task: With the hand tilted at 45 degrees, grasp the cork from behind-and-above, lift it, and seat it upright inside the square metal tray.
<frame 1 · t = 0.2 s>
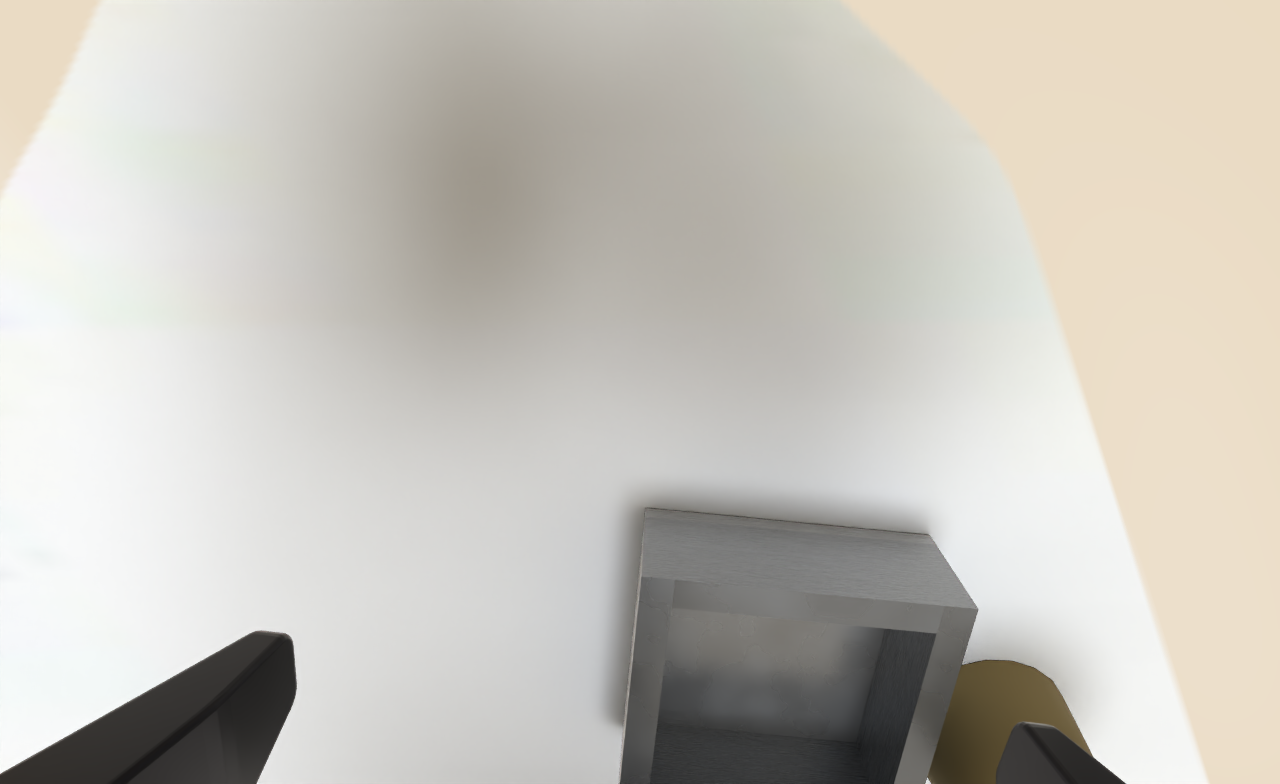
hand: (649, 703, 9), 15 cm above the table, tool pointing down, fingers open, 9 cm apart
square metal tray: (766, 637, 26), on the table
cork: (982, 718, 28), on the table
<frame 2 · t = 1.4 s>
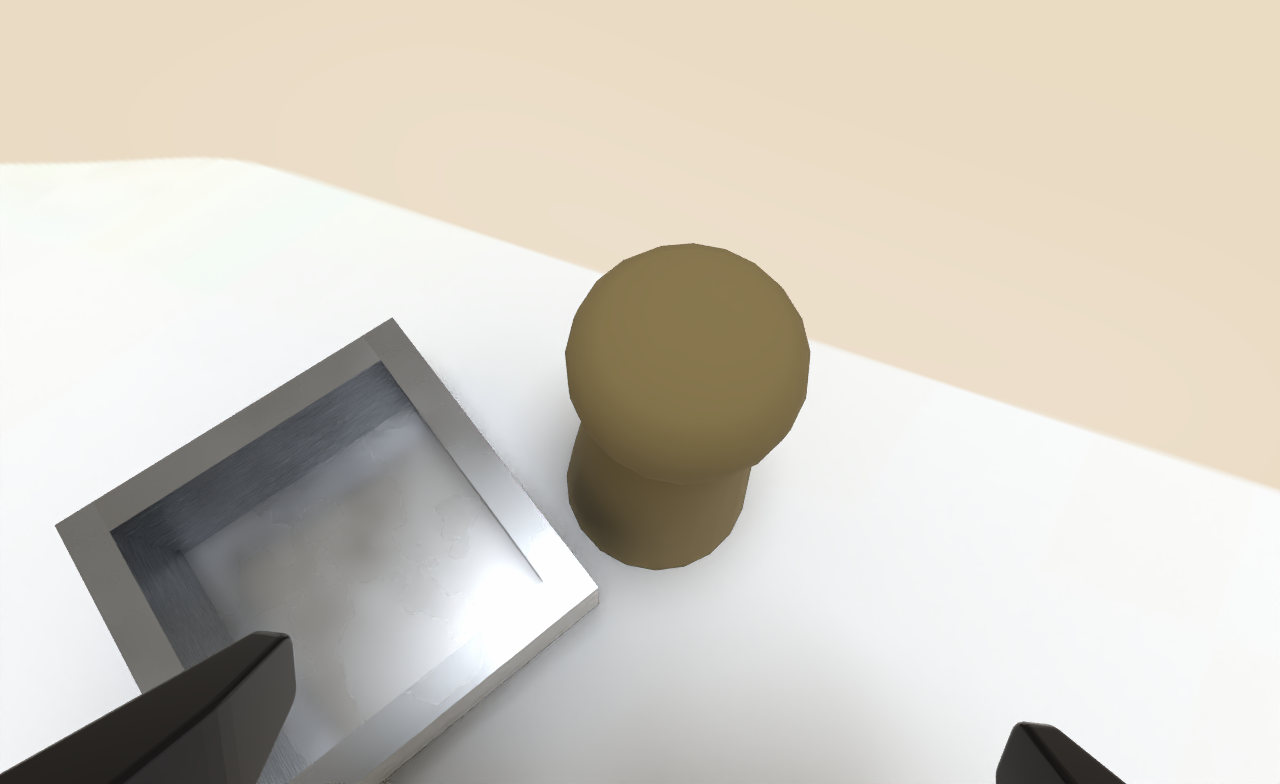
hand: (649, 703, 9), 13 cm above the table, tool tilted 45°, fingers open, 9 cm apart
square metal tray: (374, 578, 22), on the table
cork: (656, 480, 24), on the table
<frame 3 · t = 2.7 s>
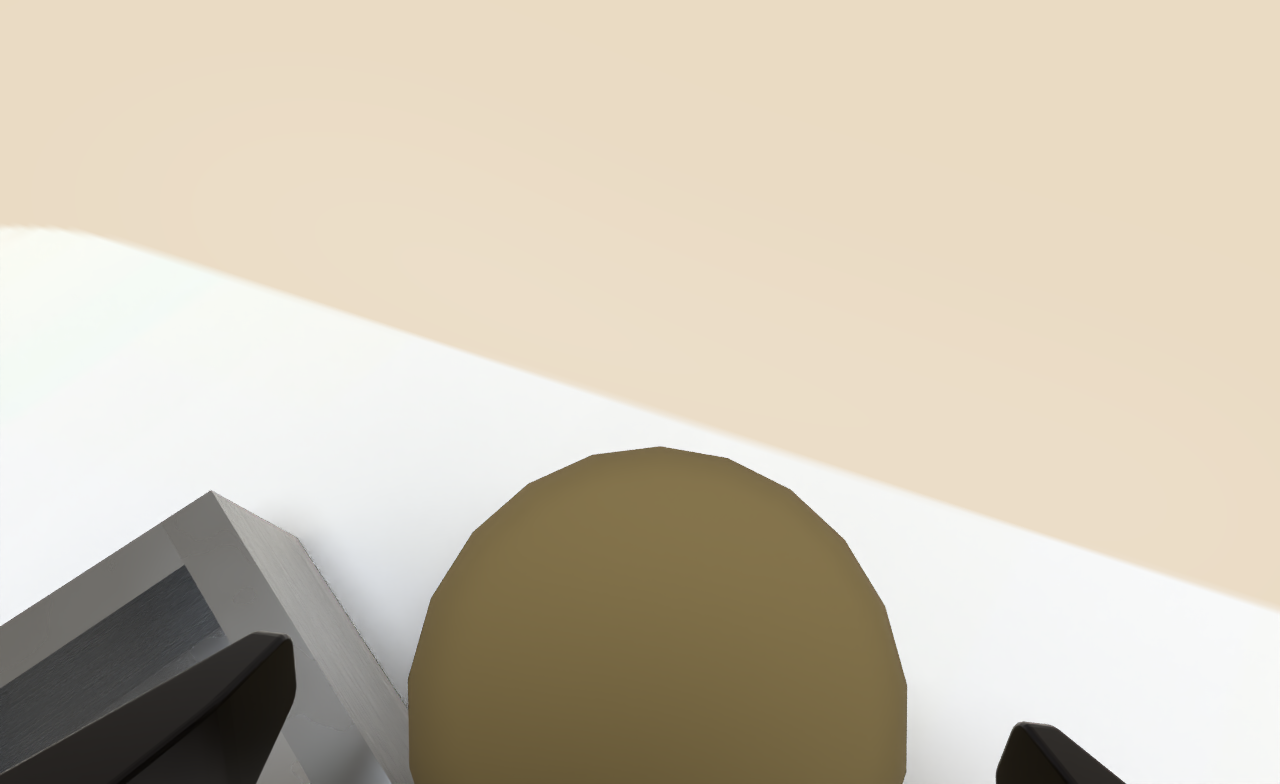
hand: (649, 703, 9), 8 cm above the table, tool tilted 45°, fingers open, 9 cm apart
cork: (629, 696, 16), on the table
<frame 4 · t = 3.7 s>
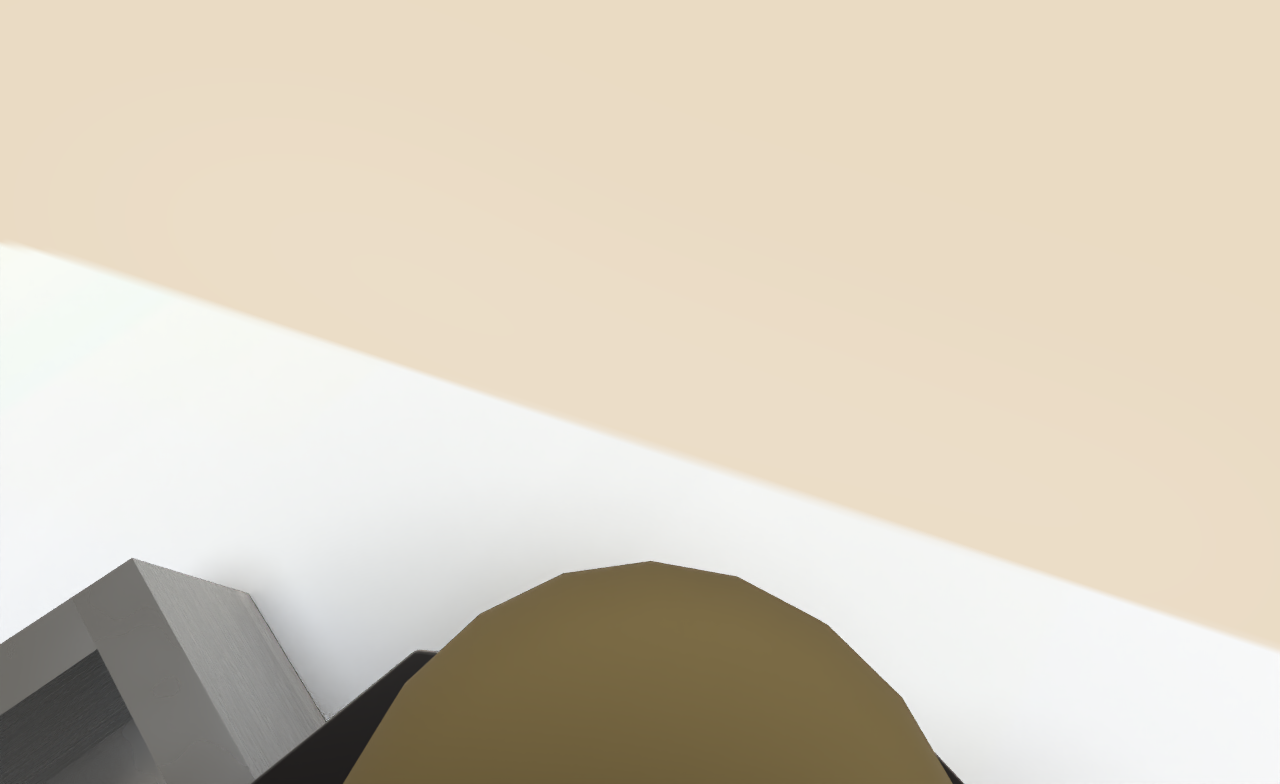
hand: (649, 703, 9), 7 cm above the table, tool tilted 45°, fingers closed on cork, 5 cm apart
cork: (623, 777, 14), on the table, touching gripper
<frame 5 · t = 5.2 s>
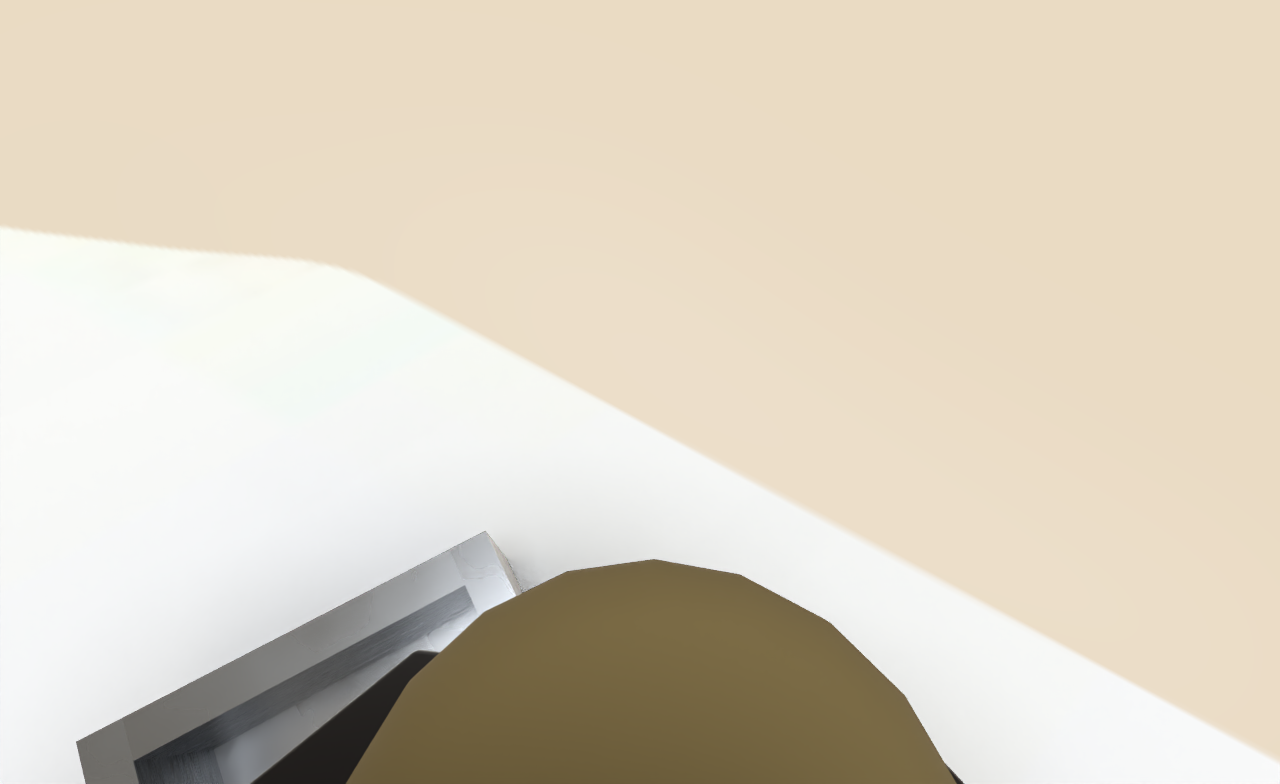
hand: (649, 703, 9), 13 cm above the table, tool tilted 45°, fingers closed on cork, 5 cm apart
cork: (628, 776, 14), point 6 cm above the table, touching gripper
when the fingers open (9 cm above the table, at t = 6.7 s): cork drops 2 cm, resting on square metal tray.
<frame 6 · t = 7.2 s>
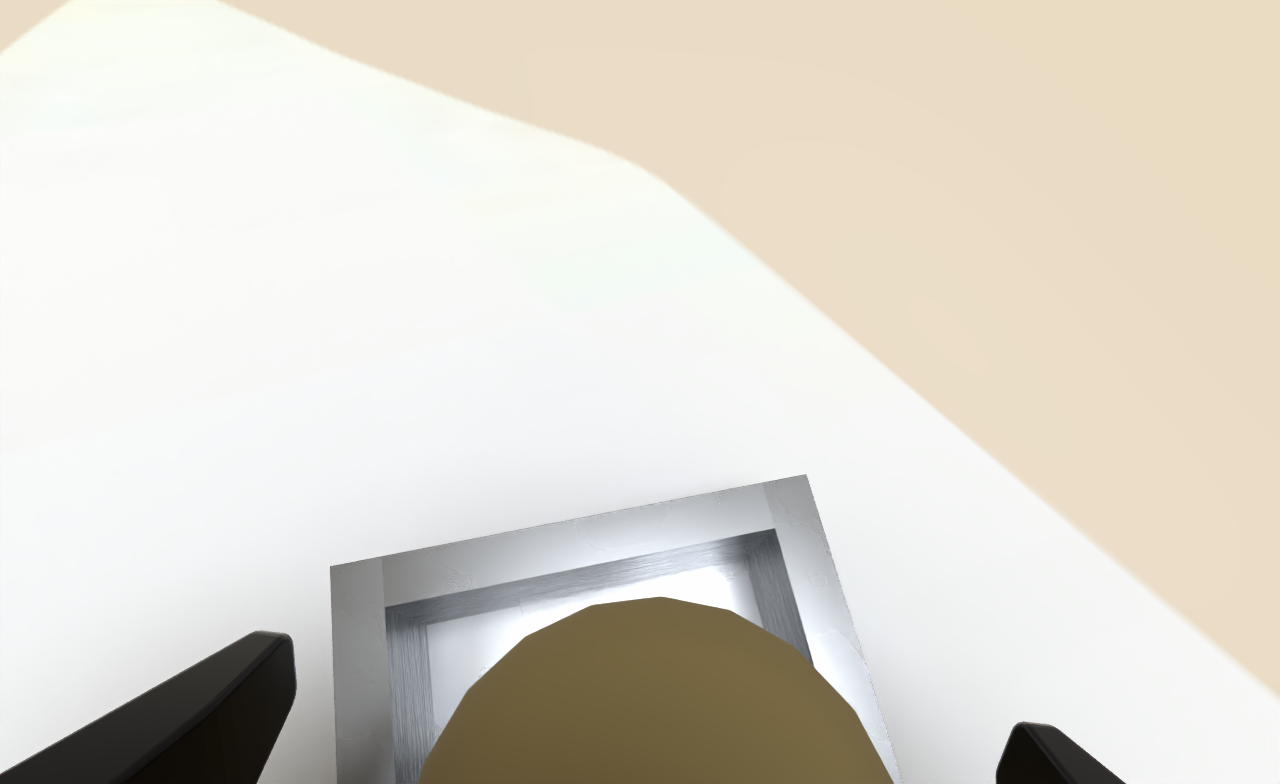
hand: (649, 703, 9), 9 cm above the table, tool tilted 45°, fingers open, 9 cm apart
square metal tray: (620, 767, 16), on the table
cork: (627, 770, 16), resting on square metal tray
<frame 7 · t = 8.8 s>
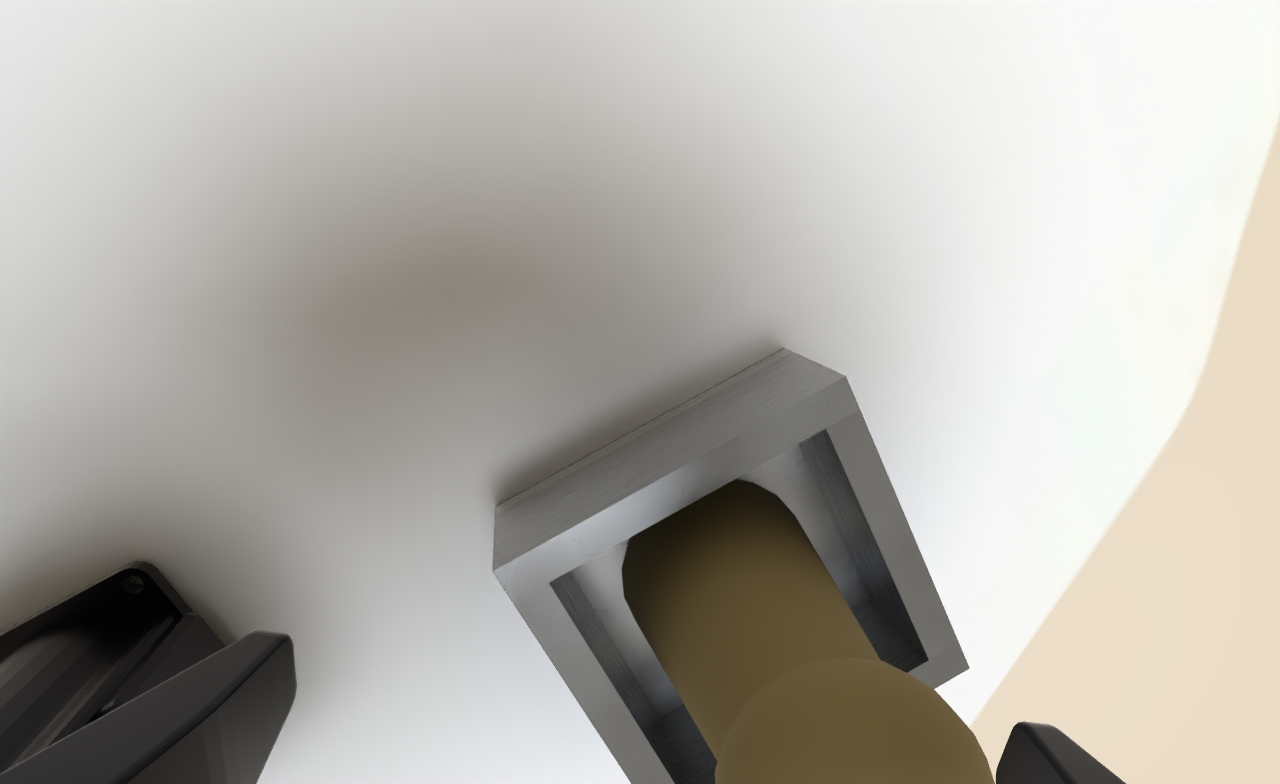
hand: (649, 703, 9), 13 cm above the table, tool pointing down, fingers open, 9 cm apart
square metal tray: (710, 555, 23), on the table
cork: (713, 565, 22), resting on square metal tray
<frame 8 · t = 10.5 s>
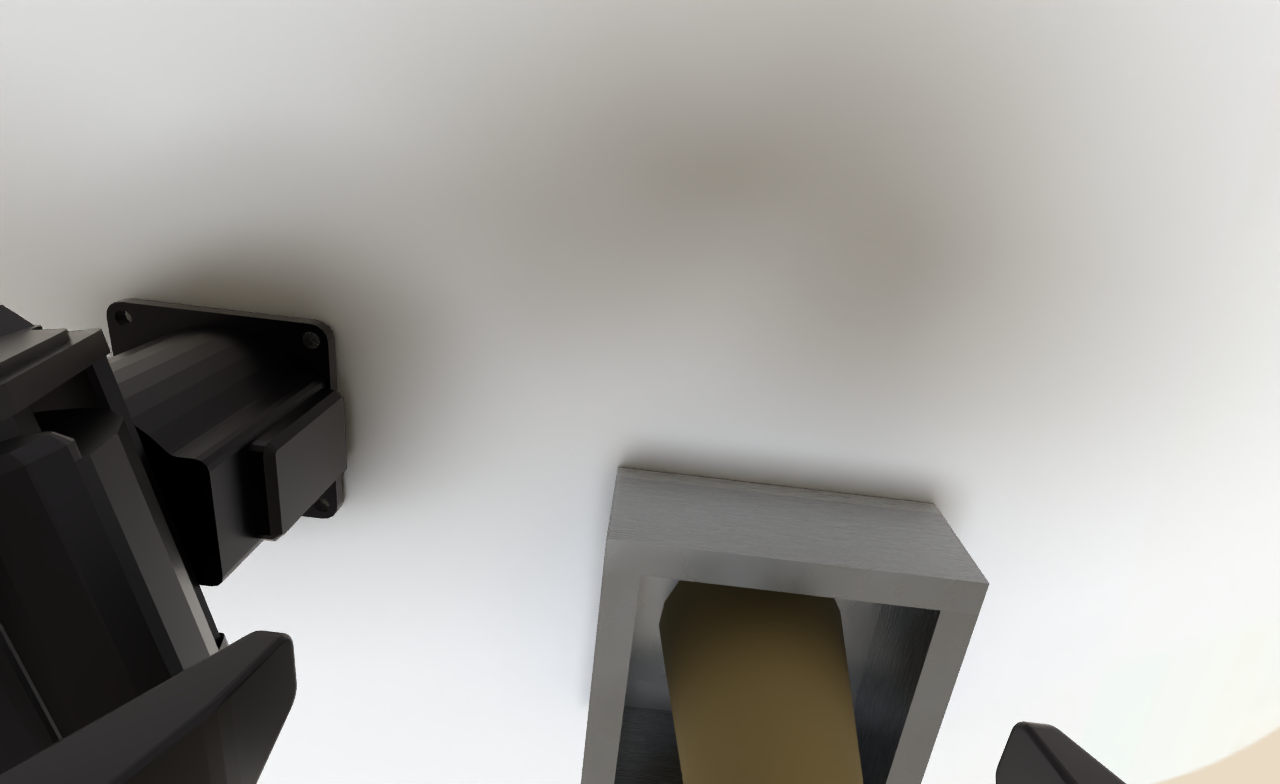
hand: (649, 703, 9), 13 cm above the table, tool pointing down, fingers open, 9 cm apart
square metal tray: (750, 614, 24), on the table
cork: (749, 626, 24), resting on square metal tray
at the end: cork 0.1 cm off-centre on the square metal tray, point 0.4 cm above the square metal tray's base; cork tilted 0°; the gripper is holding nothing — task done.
